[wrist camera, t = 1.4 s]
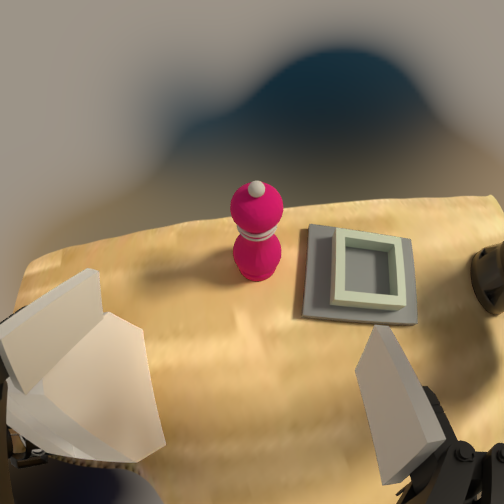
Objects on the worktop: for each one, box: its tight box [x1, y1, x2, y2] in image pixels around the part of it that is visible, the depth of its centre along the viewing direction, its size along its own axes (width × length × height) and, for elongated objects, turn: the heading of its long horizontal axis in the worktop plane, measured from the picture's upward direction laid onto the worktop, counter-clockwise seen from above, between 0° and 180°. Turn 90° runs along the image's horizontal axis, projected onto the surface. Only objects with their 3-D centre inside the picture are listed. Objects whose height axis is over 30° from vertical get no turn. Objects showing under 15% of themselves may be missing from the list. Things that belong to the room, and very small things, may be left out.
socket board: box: [302, 224, 418, 325], centre depth 42 cm, size 20×16×4 cm
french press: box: [6, 424, 56, 469], centre depth 20 cm, size 12×9×23 cm
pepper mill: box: [230, 181, 283, 281], centre depth 36 cm, size 7×7×20 cm
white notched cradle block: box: [6, 312, 166, 463], centre depth 25 cm, size 19×15×25 cm
